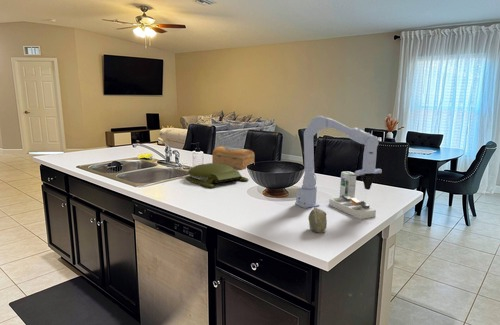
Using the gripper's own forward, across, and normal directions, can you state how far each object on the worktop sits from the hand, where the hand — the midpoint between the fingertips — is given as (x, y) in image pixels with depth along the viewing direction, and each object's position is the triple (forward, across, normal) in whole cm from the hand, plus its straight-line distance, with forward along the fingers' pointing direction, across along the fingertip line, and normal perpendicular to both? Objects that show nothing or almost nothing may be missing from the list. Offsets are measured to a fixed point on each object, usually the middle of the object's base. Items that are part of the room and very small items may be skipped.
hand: (367, 189), depth 164 cm
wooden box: (+10, -20, +120) cm, 122 cm away
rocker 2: (+6, -6, -5) cm, 10 cm away
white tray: (+10, -8, +1) cm, 13 cm away
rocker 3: (+6, -6, +7) cm, 11 cm away
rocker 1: (+6, -6, +1) cm, 8 cm away
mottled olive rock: (+10, -37, -13) cm, 40 cm away
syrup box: (+10, +2, +16) cm, 19 cm away
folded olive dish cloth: (+11, -48, +83) cm, 97 cm away
